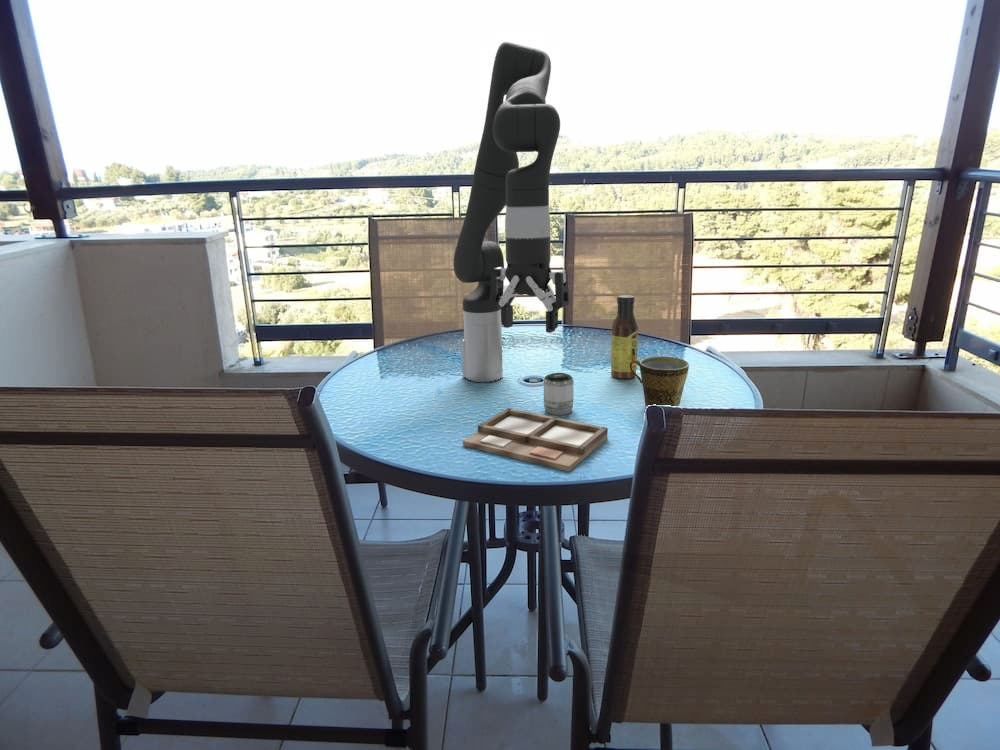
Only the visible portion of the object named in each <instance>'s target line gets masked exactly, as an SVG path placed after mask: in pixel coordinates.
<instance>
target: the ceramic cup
mask: <svg viewBox="0 0 1000 750" xmlns="http://www.w3.org/2000/svg"><path fill="white" fill-rule="evenodd" d="M633 363H636V364H637V366H638V367H639V371H640V376H639V375H638V373H637V372H636V373H635V372H634V370H633V369H632V364H633ZM689 369H690V363H689V361H686V360H685V359H683V358H678V357H672V356H658V355H657V356H649V357H645V358H642V359H640V360H638V359H637V360H634V361H632V362H631V363H630V370H631V372H632V373H633V374H634V375H635V377H636V379H638V381H639V383H641V385H642V390H643V397H644V398H643V399H644V406H645V407H646V406H648V405H653V404H656V405H671V406H679V407H680V404H681V398H682V396H683V392H684V388H685V385H686V381H687V377H688V373H689Z"/></svg>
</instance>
